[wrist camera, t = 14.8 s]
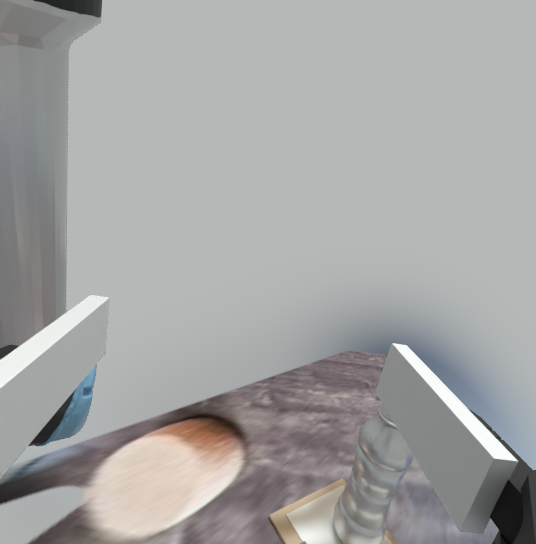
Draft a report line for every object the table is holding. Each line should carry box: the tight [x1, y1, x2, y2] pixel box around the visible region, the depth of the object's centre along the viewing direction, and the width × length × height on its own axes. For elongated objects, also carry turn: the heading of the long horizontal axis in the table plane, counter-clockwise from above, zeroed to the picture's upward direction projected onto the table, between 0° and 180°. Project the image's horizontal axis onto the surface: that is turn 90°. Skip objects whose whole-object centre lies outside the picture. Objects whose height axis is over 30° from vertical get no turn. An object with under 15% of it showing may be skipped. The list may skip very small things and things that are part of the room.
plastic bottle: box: [334, 403, 413, 544], centre depth 39 cm, size 6×7×20 cm
